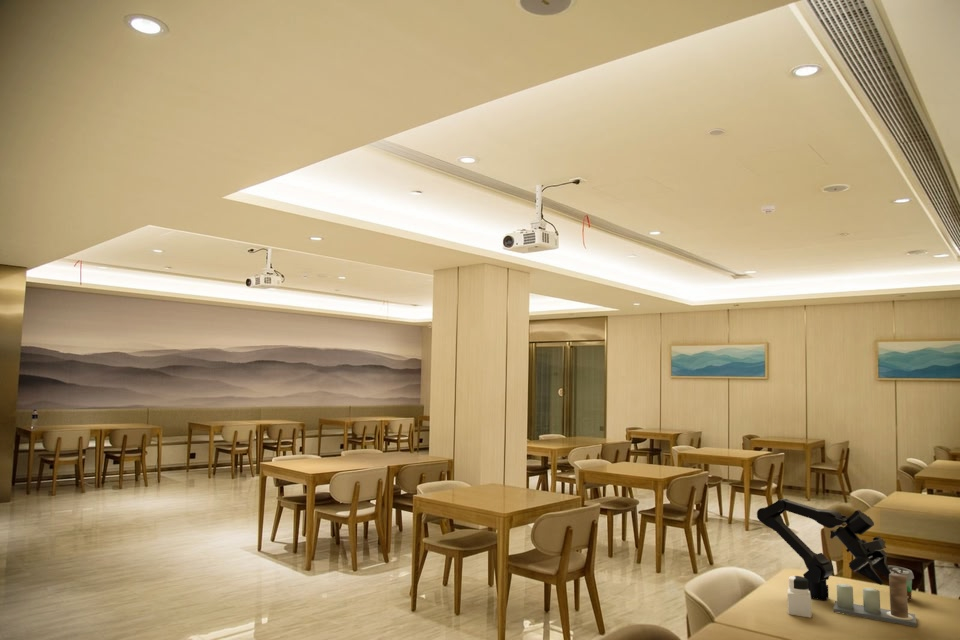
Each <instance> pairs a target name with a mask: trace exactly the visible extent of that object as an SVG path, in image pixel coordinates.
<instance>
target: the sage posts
mask: <svg viewBox="0 0 960 640" xmlns="http://www.w3.org/2000/svg"><path fill="white" fill-rule="evenodd" d="M836 601H837V606H839V607H841V608H845V609H853V608H854V604H855V603H854V587H853V586H852V585H849V584H847V583H846V584H845V583H838V584H837V583H836ZM862 601H863V602H862V603H863V604H862V605H863V606H864V611H866V612H869V613H874V614H879V613H881V610H880V608H881V591H880V590H879V589H876V588H872V587H863V588H862Z"/></svg>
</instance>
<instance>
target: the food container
mask: <svg viewBox="0 0 960 640" xmlns="http://www.w3.org/2000/svg"><path fill="white" fill-rule="evenodd" d="M887 566H888V568H889V570H890V572H891V574H901V575H904V576H906V579H907V600H908V601H911V600H912V590H913V588H912V585H913V580H914V579H915V576H914V572H913V571H912V570H911V569H908V568H906V567H902V566H897V565H892V564H891V565H888V564H887ZM910 599H911V600H910Z"/></svg>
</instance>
